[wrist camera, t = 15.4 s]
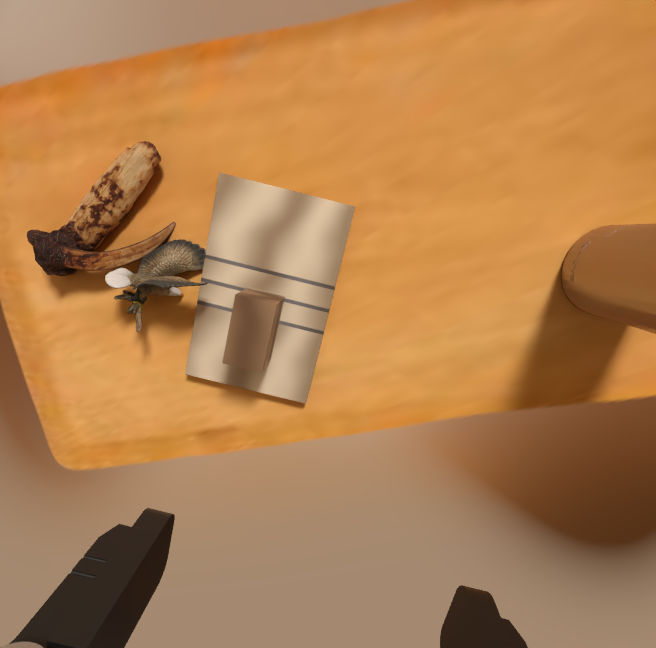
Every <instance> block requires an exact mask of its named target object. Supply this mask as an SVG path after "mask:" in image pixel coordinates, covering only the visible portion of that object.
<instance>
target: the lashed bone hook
mask: <svg viewBox="0 0 656 648" xmlns="http://www.w3.org/2000/svg"><path fill="white" fill-rule="evenodd" d="M160 161H161V156H160V155H159V153H158V152H157V150H156V147H155V146H154V145H153V144H152V143H150V142H146V141H144V142H138V143H137V144H135V145H134V146H133V147H132V148H127V149H126V150H125V151H123V152H122V153H121V154H120V155H119V156H118V157H117V158H116V159H115V160H114V162H113V163H112V164H111V166H110V167H109V168H108V169H107V170H106V171H105V172H104V173H103V174H102V175H101V176H100V177H99V179H98V180H97V182H96V183H95V184H94V185H93V186H92V189H91V190H90V191H89V192H88V193H87V195H86V196H85V197H84V198H83V199H82V201H81V203H80V204H79V206H78V207H77V208H76V210H75V212H74V213H73V215H72V216H71V217H70V218H69V220H68V221H67V223H66V224H65V225H64V226H62V227H61V228H60V229H59V230H54V231H52V232H51V233H47V232H42V231H39V230H30V231H28V232H27V238H28V241H29V243H31V244H32V246H33V249H34V253H35V260H36V262H37V263H38V264H39V265H40V266H41V267H42V268H43V270H44V271H45V272H46V273H47V275H52V274H54V275H59V276H65V275H70V274H73V273H74V272H76V271H77V269H79V270H88V271H101V270H108V269H114V268H118V267H121V266H124V265H127V264H130V263H132V262H135V261H137V260H139V259H141V258H143V257H144V256H146V255H147V254H148V253H150V252H152V251H153V250H155V249H157V248H158V247H159V246H161V245H162V244H163V243H164V242H165V240H166V239H167V238H168V237H169V236H170V234H171V233H172V231H173V230H174V228H175V225H176V223H175V222H173V223H171V224H170V225H169V226H167V227H166V228H164V229H163V230H161V231H160V232H158V233H157V234H155V235H153V236H151V237H149V238H148V239H146V240H143V241H141V242H139V243H136V244H133V245H130V246H127V247H124V248H121V249H117V250H113V251H106V252H93V251H94V250H95V249H96V248H97V247H98V246H99V245H100V244H101V242H102V241H103V239H104V238H105V237H106V236H107V235H108V234H109V233H111V231H112V230H113V229H114V228H115V227H117V226H118V225H119V223H120V222H121V221H122V219H123V218H124V217H126V215H127V214H128V213H129V211H130V210H131V208H132V206H133V203H134V202H135V200H136V199H137V197H138V196H139V195H140V194H141V193H142V191H143V190H144V189H145V187H146V185H147V183H148V182H149V180H150V179H151V177H152V176H153V174H154V173H155V170H154V168H155V166H156V165H157V164H158V163H160Z"/></svg>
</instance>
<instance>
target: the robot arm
mask: <svg viewBox="0 0 656 648" xmlns="http://www.w3.org/2000/svg"><path fill="white" fill-rule="evenodd" d="M562 285H563V289H564V291H565V294H566V296H567V297H568V298H569V300H570V301H571V303H573V304H574V305H575V306H576V307H578V308H579V309H581V310H583V311H585V312H588V313H591V314H594V315H597V316H601V317H604V318H607V319H610V320H613V321H616V322H619V323H623V324H626V325H629V326H632V327H635V328H639V329H642V330H645V331H648V332H651V333H655V334H656V224H631V225H610V226H604V227H600V228H598V229H595V230H592V231H590V232H589V233H587V234H586V235H584V236H583V237H581V238H580V239H579V240H578V241H577V242H576V243H575V244H574V245H573V247H572V248H571V249H570V251H569V252H568V254H567V256H566V258H565V260H564V264H563V268H562ZM173 525H174V514H170V513H166V512H162V511H158V510H154V509H150V508H147V509H145V510H144V511H143V513H142V514H141V515H140V517H139V518H138V519H137V521H136V522H135V523H134V525H133V526H132V527H129V526H125V525H121V524H119V525H117V526H116V527H114V528H112V529H111V530H109V531H108V532H106V533H105V534H103V535H102V536H100V537H99V538H98V539H97V540H96V542H95V543H94V544H93V545H92V546H91V548H90V549H89V550H88V551H87V553H86V554H85V556H84V558H82V559H81V560H80V561H79V562H78V563H77V565H76V566H75V567H74V568H73V570H72V572H71V573H70V574H68V575H67V577H66V578H65V579H64V581H63V582H62V583H61V584H60V585H59V586H58V588H57V589H56V590H55V591H54V593H53V594H52V595H51V596H50V597H49V599H48V600H47V601H46V602H45V603H44V605H43V606H42V607H41V608H40V609H39V611H38V612H37V613H36V614H35V616H34V617H33V618H32V619H31V620H30V622H29V623H28V624H27V625H26V627H25V628H24V629H23V630H22V631H21V632H20V634H19V635H18V636H17V637H16V638H15V639H14V640H13V641H12V642H11V643H10V644H8V645H5V646H2V647H0V648H124V647H125V645H126V643H127V641H128V640H129V638H130V636H131V634H132V632H133V630H134V629H135V627H136V625H137V623H138V621H139V619H140V618H141V615H142V614H143V612H144V610H145V608H146V606H147V605H148V603H149V601H150V599H151V597H152V595H153V594H154V592H155V590H156V588H157V586H158V584H159V582H160V579H161V577H162V575H163V572H164V569H165V566H166V562H167V558H168V553H169V547H170V542H171V535H172V530H173ZM440 648H528V647H527V645H526V643H525V641H524V640H523V638H522V637H521V636H520V634H519V633H518V632H517V630H516V629H515V628H514V626H513V625H512V624H511V622H510V621H509V620H507V619H503V618H501V617H500V615H499V612H498V609H497V607H496V604H495V602H494V599H493V597H492V596H491V594H490V593H489V592H486V591H482V590H478V589H474V588H470V587H465V586H459V587H458V588H457V590H456V593H455V595H454V598H453V601H452V603H451V606H450V608H449V611H448V613H447V616H446V618H445V621H444V624H443V626H442V630H441V636H440Z"/></svg>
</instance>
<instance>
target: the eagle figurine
mask: <svg viewBox="0 0 656 648" xmlns="http://www.w3.org/2000/svg"><path fill="white" fill-rule="evenodd" d="M205 254H206V252H205V249H204V248H200V246H199V245H198V244H192V242H191V241H188V242H186V240H174V241H169V242H168V243H167V244H164V245H162V246H160V248H159V247H158V248H157V249H155V250H153V251H152V252H150V253H148V254H147V255H146V256H144V258H143V259H142V260H141V262H140V266H139V270H138V271H137V273H136V274H134V273H132V272H130V271H129V270H127V269H125V268H119V269H116V270H114V271H111V272H109V273H108V274H107V275H106V276H105V281H106V283H107V284H108V285H109V286H110V287H113V288H124V287H128V286H134V288H133V290H134V289H136V288H137V291H136V293H135V294H134V293H131V292H128V291H125V290H124V291H123V292H124V293H125V294H123V295H118V296H115V297H114V299H125V300H128V301H132V303H133V305H132V306H131V307H130V308H129V309H128V310H127V313H128V314H135V318H136V323H137V325H136V331H137V332H140V330H141V328H142V316H141V314H142V311H143V304H144V302H145V301H146V300H147V296H148V295H151V294H155V295H160V296H165V295H166V296H181V297H183V296H184V295H183V293H182V292H181V291H180V289H178V288H176V287H181V286H196V285H198V286H201V285H206V284H208V283H193V282H190V281H189V280H186V279H184V278H181V277H173V276H174V275H177V274H180V273H182V272H185V271H192V270H200V269H203V266H204V260H205Z"/></svg>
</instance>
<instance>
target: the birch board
mask: <svg viewBox="0 0 656 648" xmlns="http://www.w3.org/2000/svg"><path fill="white" fill-rule="evenodd" d="M354 209H355V207H354V206H350V205H346V204H343V203H339V202H335V201H331V200H327V199H323V198H319V197H315V196H311V195H307V194H303V193H299V192H295V191H291V190H287V189H283V188H279V187H275V186H271V185H267V184H263V183H259V182H255V181H251V180H247V179H243V178H239V177H235V176H231V175H227V174H223V173H219V177H218V183H217V189H216V195H215V201H214V207H213V213H212V219H211V225H210V231H209V237H208V242H207V248H206V254H205V260H204V266H203V272H202V278H201V283H208V284H206V285H201V286H200V290H199V296H198V302H197V308H196V314H195V320H194V326H193V331H192V337H191V343H190V349H189V355H188V361H187V367H186V373H185V374H187V375H191V376H195V377H199V378H203V379H207V380H211V381H215V382H219V383H223V384H227V385H231V386H236V387H240V388H244V389H248V390H252V391H256V392H260V393H264V394H268V395H272V396H276V397H280V398H285V399H289V400H293V401H297V402H301V403H305V404H306V402H307V398H308V394H309V390H310V386H311V382H312V378H313V374H314V370H315V366H316V362H317V358H318V354H319V350H320V346H321V342H322V338H323V334H324V330H325V326H326V322H327V318H328V314H329V310H330V306H331V302H332V298H333V293H334V289H335V285H336V281H337V277H338V273H339V269H340V265H341V261H342V257H343V253H344V249H345V245H346V241H347V237H348V233H349V229H350V225H351V221H352V217H353V213H354ZM248 287H249V288H253V289H257V290H261V291H265V292H269V293H273V294H277V295H281V296H285V299H284V303H283V308H282V312H281V317H280V321H279V326H278V330H277V335H276V339H275V344H274V348H273V353H272V357H271V359H270V361H269V362H268V364H267V366H266V367H265V369H264V371H263V372H262V373H260V372H256V371H252V370H248V369H243V368H239V367H235V366H231V365H227V364H223V363H222V361H223V356H224V351H225V346H226V341H227V335H228V330H229V325H230V320H231V315H232V309H233V304H234V299H235V294H237V293H239V292H241V291H243V290H244V289H246V288H248Z"/></svg>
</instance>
